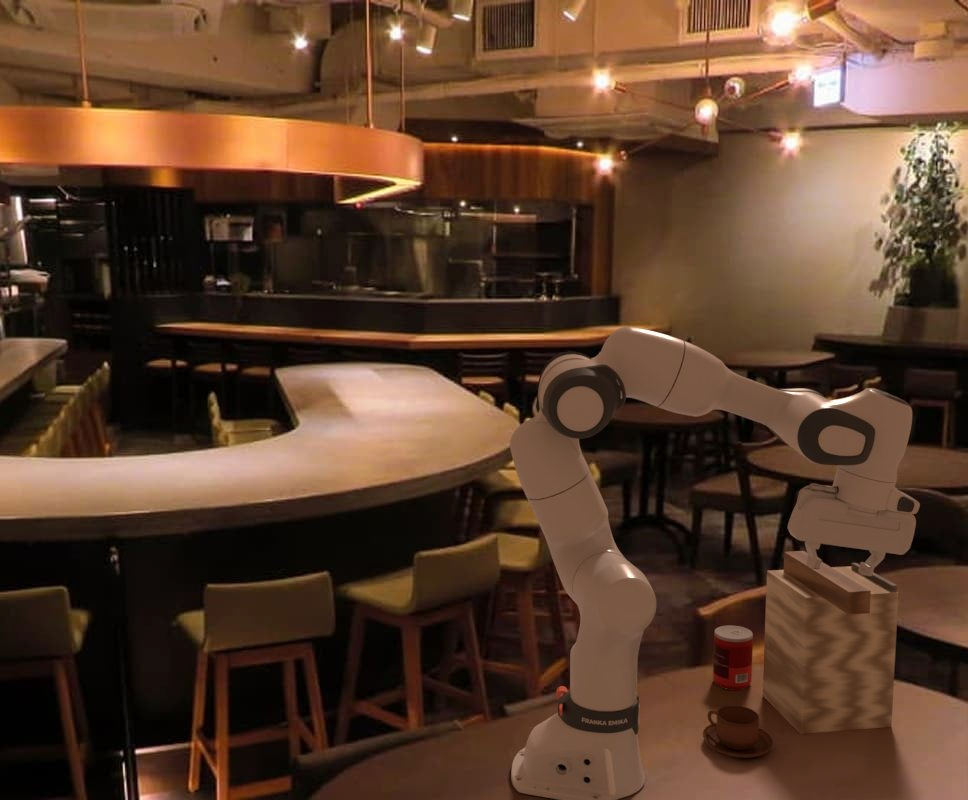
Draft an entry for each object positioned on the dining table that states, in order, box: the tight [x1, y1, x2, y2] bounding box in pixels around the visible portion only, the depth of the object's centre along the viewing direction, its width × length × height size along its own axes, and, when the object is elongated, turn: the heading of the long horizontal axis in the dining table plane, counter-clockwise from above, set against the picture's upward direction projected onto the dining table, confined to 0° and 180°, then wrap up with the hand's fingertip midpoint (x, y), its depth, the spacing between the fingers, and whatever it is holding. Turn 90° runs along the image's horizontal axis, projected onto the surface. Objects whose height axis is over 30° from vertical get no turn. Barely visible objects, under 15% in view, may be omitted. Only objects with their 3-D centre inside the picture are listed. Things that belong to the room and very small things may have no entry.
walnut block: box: [783, 550, 871, 614], centre depth 169 cm, size 4×24×4 cm, turn 8°
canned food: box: [712, 624, 754, 691], centre depth 190 cm, size 8×8×11 cm
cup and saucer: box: [702, 704, 773, 759], centre depth 164 cm, size 12×12×6 cm
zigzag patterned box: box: [762, 562, 899, 735], centre depth 177 cm, size 18×16×27 cm
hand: (838, 571), depth 149 cm, fingers open, 8 cm apart
